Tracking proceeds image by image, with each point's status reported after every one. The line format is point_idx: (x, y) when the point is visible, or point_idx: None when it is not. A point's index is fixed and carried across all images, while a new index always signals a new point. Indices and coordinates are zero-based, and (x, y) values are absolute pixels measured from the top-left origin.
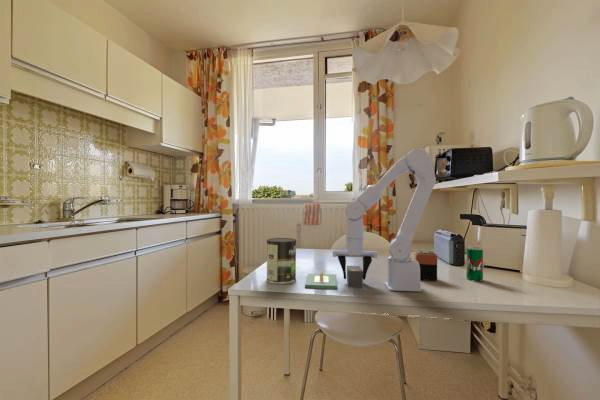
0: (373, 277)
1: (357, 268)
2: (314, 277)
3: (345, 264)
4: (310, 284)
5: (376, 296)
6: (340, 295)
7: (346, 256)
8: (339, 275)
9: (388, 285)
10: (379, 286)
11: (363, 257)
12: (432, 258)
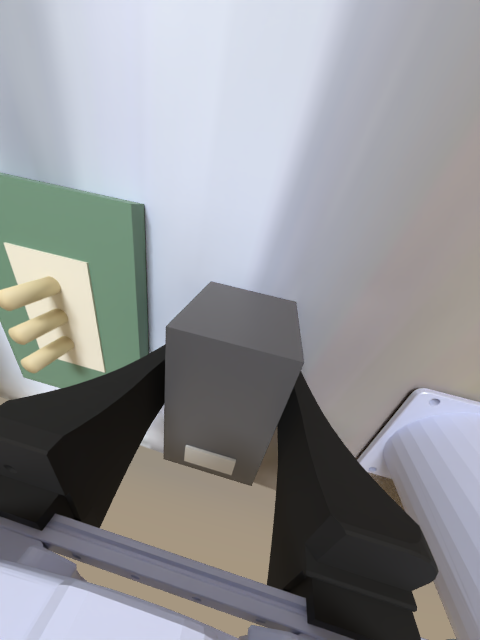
0: (463, 227)
1: (241, 427)
2: (15, 275)
3: (124, 469)
4: (41, 378)
5: (271, 478)
6: (160, 447)
7: (76, 535)
8: (174, 131)
9: (387, 444)
10: (350, 410)
11: (303, 572)
12: None
